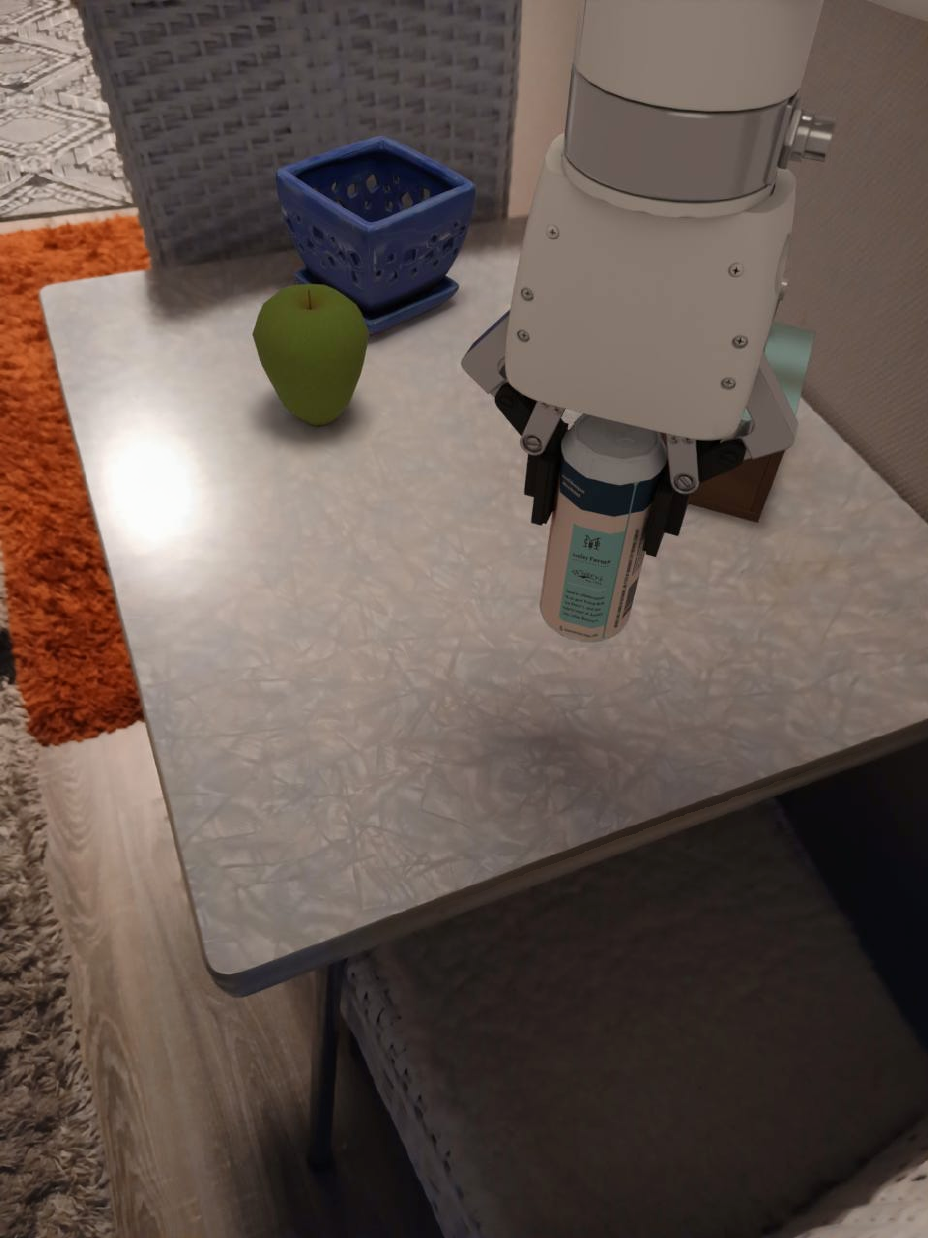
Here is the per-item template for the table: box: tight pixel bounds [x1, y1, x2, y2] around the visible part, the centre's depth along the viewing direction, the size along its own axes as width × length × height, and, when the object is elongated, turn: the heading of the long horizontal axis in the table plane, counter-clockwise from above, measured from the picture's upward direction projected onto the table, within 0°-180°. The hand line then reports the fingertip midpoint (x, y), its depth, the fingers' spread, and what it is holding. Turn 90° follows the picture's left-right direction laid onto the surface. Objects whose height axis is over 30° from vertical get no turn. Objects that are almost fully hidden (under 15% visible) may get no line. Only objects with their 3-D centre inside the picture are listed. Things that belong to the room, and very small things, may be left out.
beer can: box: [539, 413, 667, 643], centre depth 47 cm, size 5×5×12 cm
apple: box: [252, 284, 371, 427], centre depth 76 cm, size 9×8×12 cm
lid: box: [739, 277, 817, 425], centre depth 73 cm, size 14×13×6 cm
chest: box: [660, 432, 786, 523], centre depth 78 cm, size 14×13×8 cm
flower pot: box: [275, 135, 477, 335], centre depth 89 cm, size 13×13×12 cm
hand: (601, 519), depth 47 cm, fingers closed on beer can, 4 cm apart
